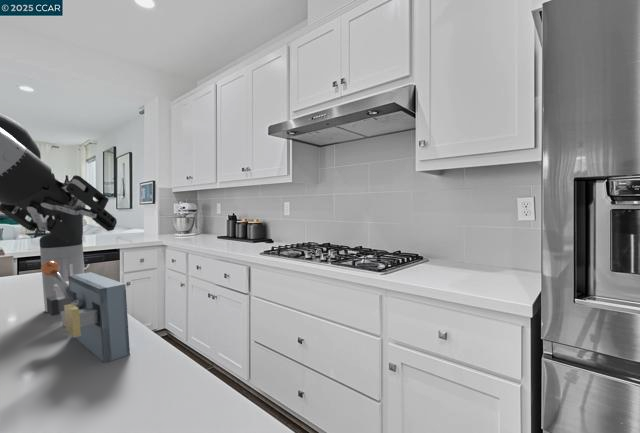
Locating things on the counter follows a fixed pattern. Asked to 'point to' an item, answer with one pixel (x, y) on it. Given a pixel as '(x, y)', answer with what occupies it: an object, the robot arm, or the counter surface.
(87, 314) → the tan square block
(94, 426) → the counter surface
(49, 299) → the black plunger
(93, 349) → the block
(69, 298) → the lever
